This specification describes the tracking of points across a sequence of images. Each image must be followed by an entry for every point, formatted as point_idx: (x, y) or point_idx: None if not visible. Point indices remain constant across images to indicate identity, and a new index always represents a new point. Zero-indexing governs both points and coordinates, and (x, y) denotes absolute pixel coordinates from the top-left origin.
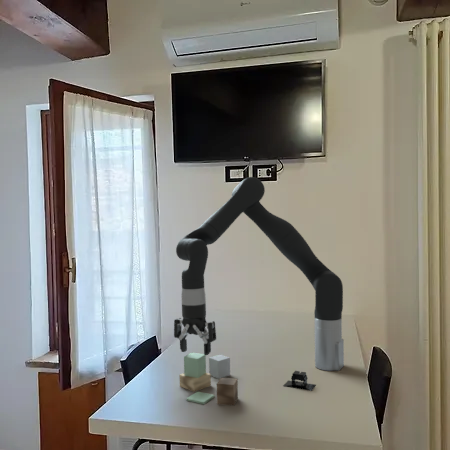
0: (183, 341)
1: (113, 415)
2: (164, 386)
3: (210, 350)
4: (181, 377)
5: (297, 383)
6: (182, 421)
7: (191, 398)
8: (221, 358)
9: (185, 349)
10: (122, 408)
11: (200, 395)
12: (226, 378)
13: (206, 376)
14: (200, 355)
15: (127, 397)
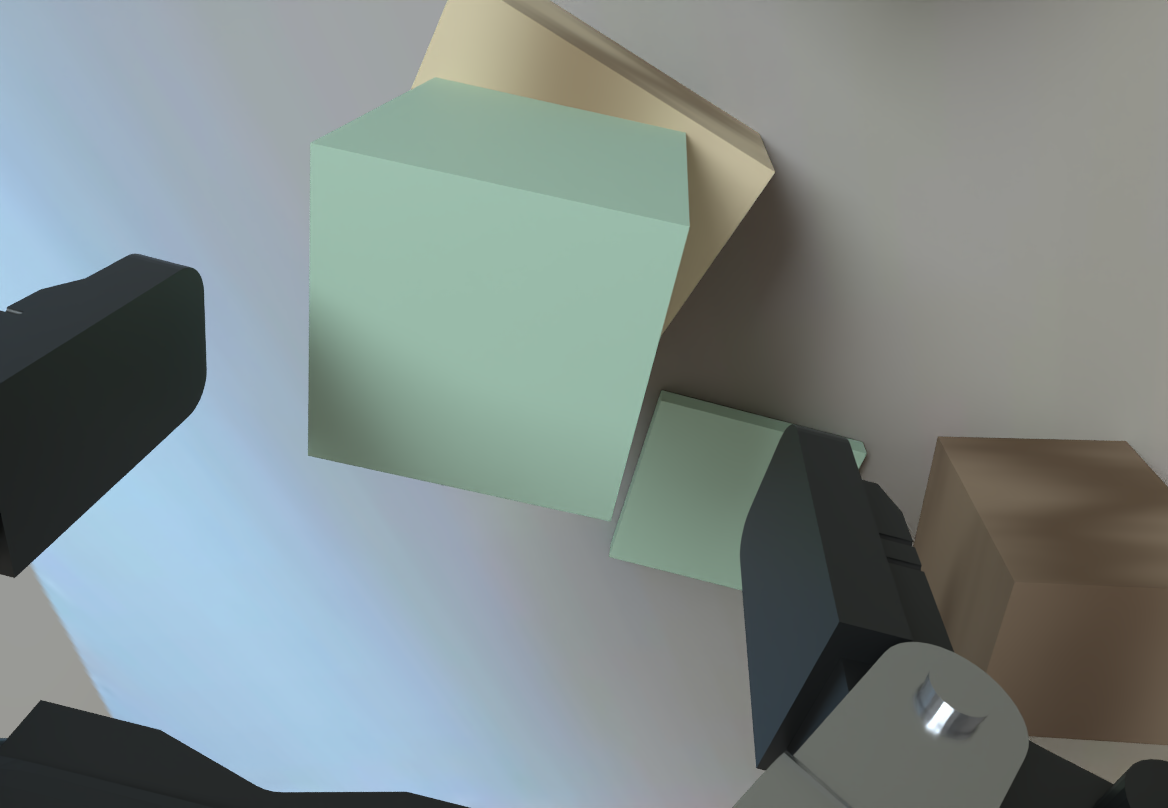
0: (28, 528)
1: (238, 770)
2: (231, 270)
3: (896, 536)
4: None
5: None
6: (698, 801)
7: (653, 550)
8: None
9: (178, 327)
10: (217, 696)
11: (720, 484)
12: (1095, 599)
13: (723, 244)
14: (595, 328)
15: (105, 548)
